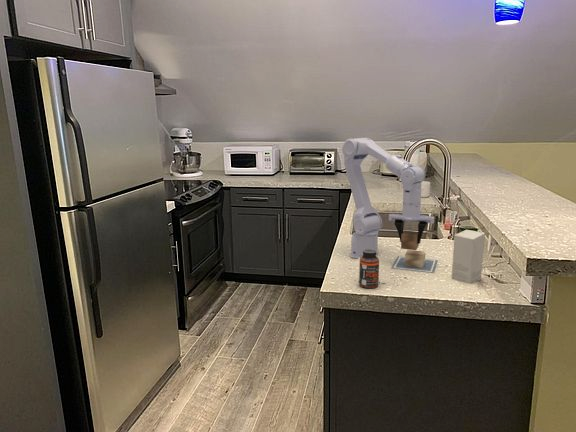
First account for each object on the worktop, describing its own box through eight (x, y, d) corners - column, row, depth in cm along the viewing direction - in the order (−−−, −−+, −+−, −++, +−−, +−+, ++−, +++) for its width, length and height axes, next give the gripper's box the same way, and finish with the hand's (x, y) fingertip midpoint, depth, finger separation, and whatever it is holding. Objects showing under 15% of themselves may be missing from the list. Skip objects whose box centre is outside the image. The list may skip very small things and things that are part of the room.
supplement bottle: (366, 290, 136) (366, 254, 133) (355, 283, 141) (355, 249, 139) (382, 287, 138) (383, 251, 136) (371, 280, 143) (372, 246, 141)
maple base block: (404, 265, 153) (405, 254, 152) (407, 260, 159) (407, 249, 158) (422, 267, 151) (423, 256, 150) (424, 262, 156) (425, 251, 155)
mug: (407, 197, 280) (407, 182, 278) (413, 194, 288) (414, 180, 286) (425, 198, 273) (426, 184, 271) (431, 196, 281) (432, 181, 279)
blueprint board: (390, 271, 152) (390, 268, 151) (397, 258, 164) (397, 255, 164) (433, 276, 146) (434, 272, 146) (437, 262, 159) (437, 259, 158)
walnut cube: (400, 248, 150) (401, 234, 149) (403, 244, 155) (404, 230, 154) (416, 250, 148) (416, 235, 147) (418, 246, 153) (419, 231, 152)
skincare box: (462, 274, 146) (466, 228, 143) (483, 280, 142) (486, 232, 138) (450, 281, 141) (453, 234, 137) (470, 287, 136) (474, 238, 133)
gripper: (387, 203, 148) (386, 243, 151) (433, 206, 142) (431, 247, 145) (391, 200, 154) (390, 238, 157) (435, 202, 148) (433, 241, 151)
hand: (410, 242), depth 151 cm, fingers closed on walnut cube, 5 cm apart
